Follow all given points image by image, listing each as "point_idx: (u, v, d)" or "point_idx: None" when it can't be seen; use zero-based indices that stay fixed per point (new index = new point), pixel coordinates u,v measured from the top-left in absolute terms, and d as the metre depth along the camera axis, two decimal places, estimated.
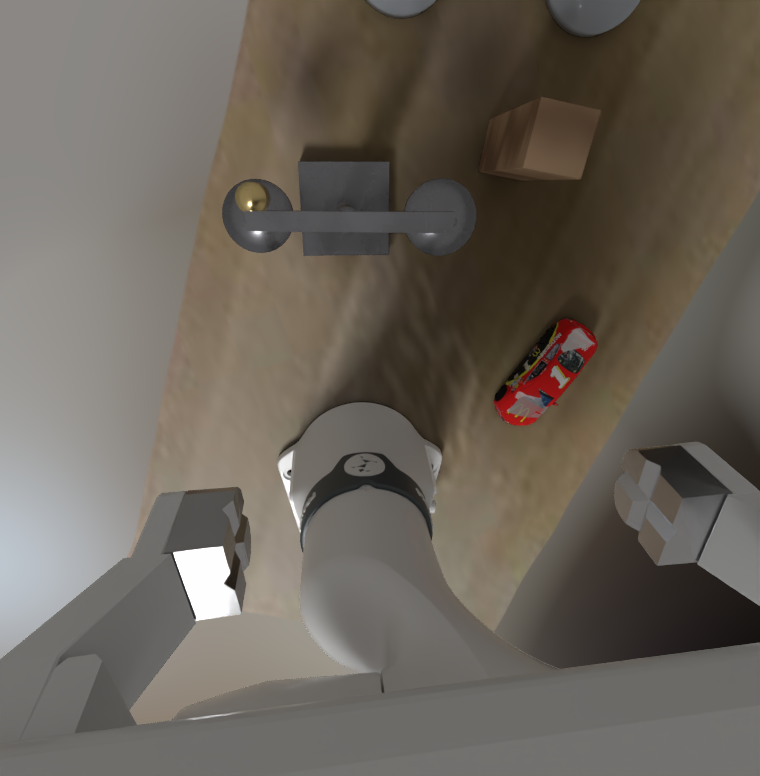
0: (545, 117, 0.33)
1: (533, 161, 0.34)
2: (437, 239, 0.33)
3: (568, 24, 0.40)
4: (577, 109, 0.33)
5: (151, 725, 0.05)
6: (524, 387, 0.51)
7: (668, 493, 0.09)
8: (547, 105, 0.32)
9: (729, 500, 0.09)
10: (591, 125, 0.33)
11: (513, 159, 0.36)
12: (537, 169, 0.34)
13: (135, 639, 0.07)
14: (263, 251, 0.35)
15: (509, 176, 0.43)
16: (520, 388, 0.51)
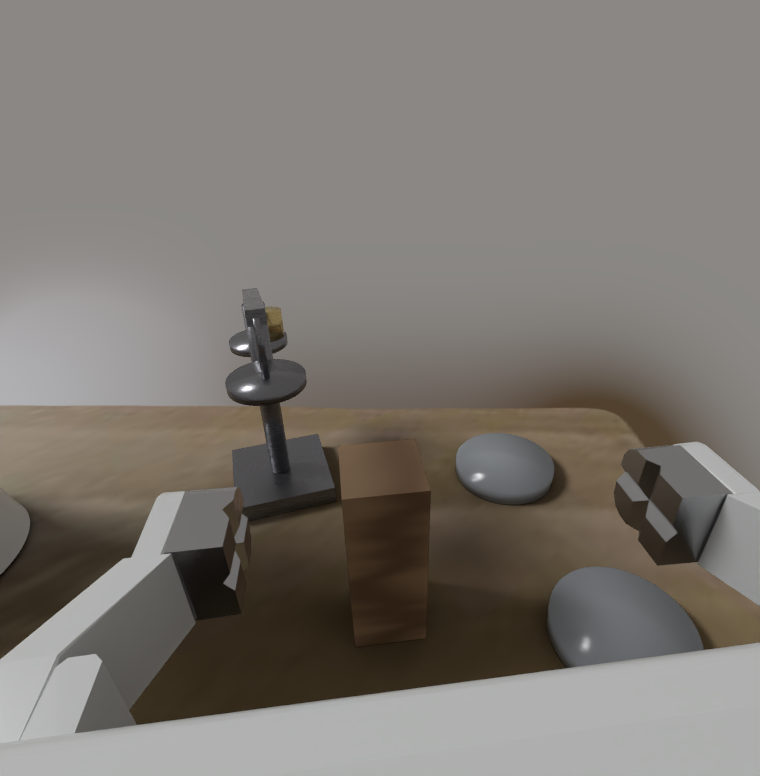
0: (397, 447, 0.27)
1: (347, 451, 0.27)
2: (243, 379, 0.30)
3: (549, 611, 0.30)
4: (419, 469, 0.25)
5: (151, 725, 0.05)
6: None
7: (668, 493, 0.09)
8: (409, 444, 0.27)
9: (729, 500, 0.09)
10: (409, 487, 0.24)
11: None
12: (340, 457, 0.26)
13: (135, 639, 0.07)
14: (230, 343, 0.42)
15: None
16: None
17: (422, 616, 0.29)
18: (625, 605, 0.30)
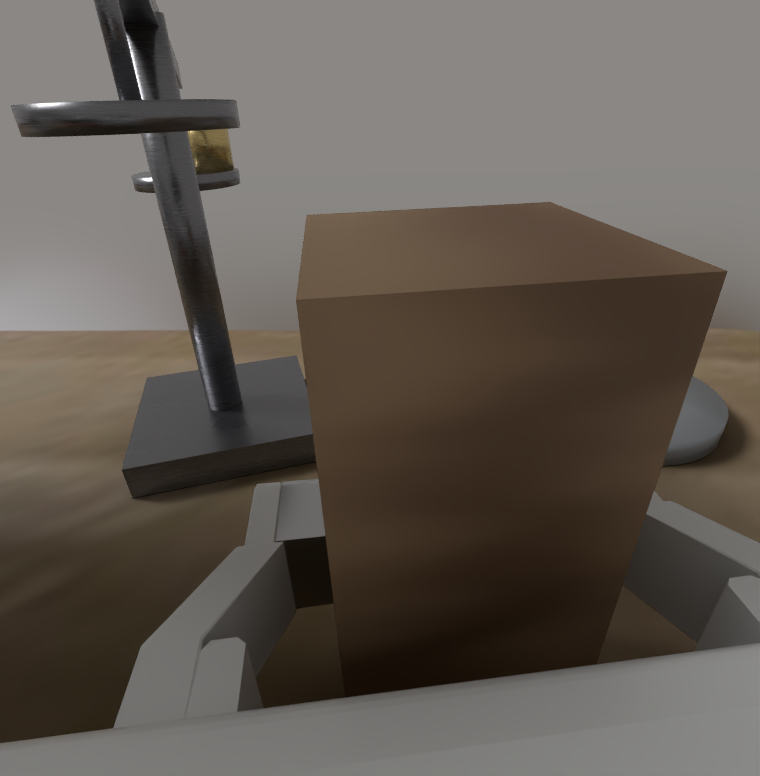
0: (501, 212, 0.08)
1: (336, 220, 0.08)
2: None
3: None
4: (615, 236, 0.06)
5: (151, 725, 0.05)
6: None
7: None
8: (538, 208, 0.08)
9: None
10: (614, 266, 0.05)
11: None
12: (309, 228, 0.07)
13: (254, 625, 0.08)
14: (133, 175, 0.23)
15: None
16: None
17: None
18: None
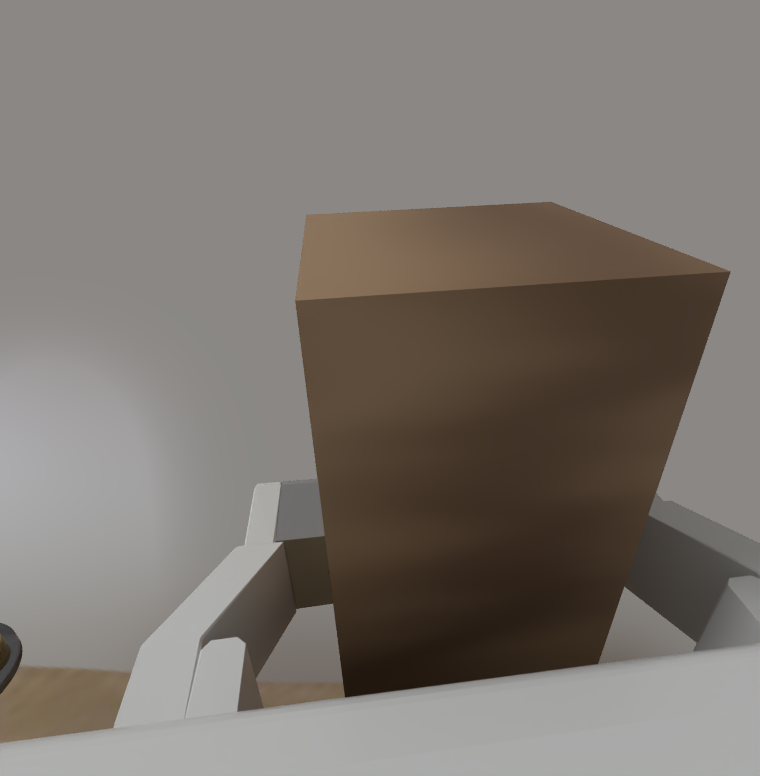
0: (501, 212, 0.08)
1: (336, 220, 0.08)
2: None
3: None
4: (616, 236, 0.06)
5: (151, 724, 0.05)
6: None
7: None
8: (540, 208, 0.08)
9: None
10: (616, 266, 0.05)
11: None
12: (309, 228, 0.07)
13: (254, 625, 0.08)
14: None
15: None
16: None
17: None
18: None
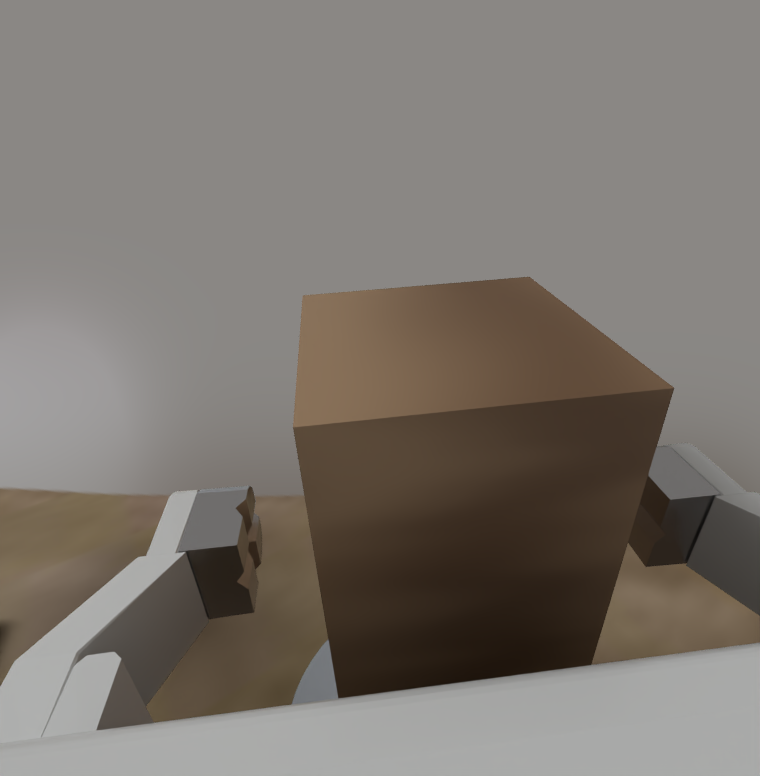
0: (482, 292, 0.09)
1: (330, 304, 0.09)
2: None
3: None
4: (582, 333, 0.07)
5: (151, 724, 0.05)
6: None
7: (656, 494, 0.09)
8: (518, 287, 0.09)
9: (717, 501, 0.09)
10: (576, 378, 0.06)
11: None
12: (305, 317, 0.08)
13: (151, 637, 0.07)
14: None
15: None
16: None
17: None
18: None
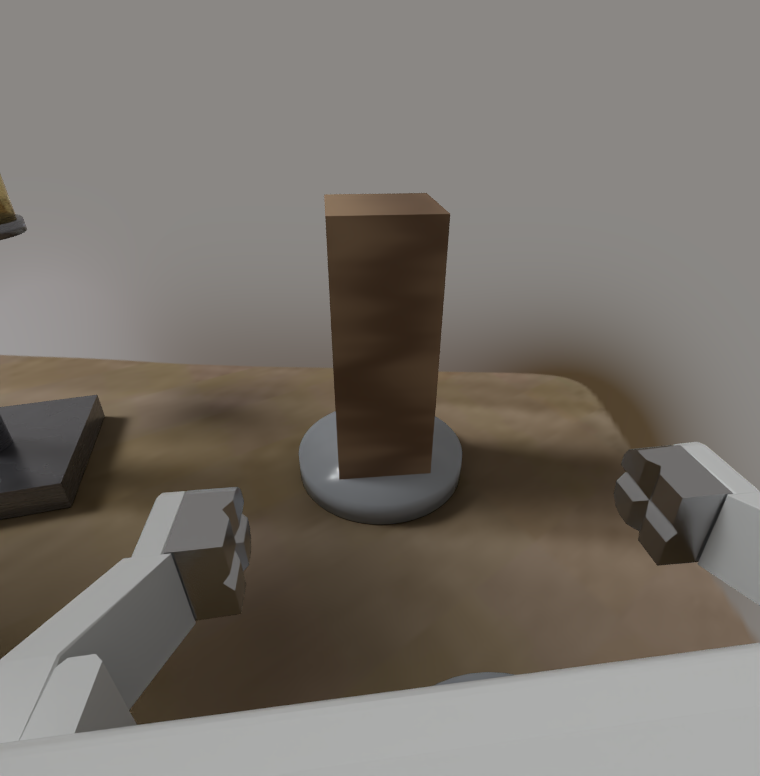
0: (402, 196, 0.20)
1: (336, 196, 0.20)
2: None
3: None
4: (433, 205, 0.18)
5: (151, 724, 0.05)
6: None
7: (668, 493, 0.09)
8: (418, 195, 0.20)
9: (729, 500, 0.09)
10: (420, 212, 0.17)
11: None
12: (326, 199, 0.19)
13: (135, 639, 0.07)
14: None
15: None
16: None
17: (428, 437, 0.22)
18: None
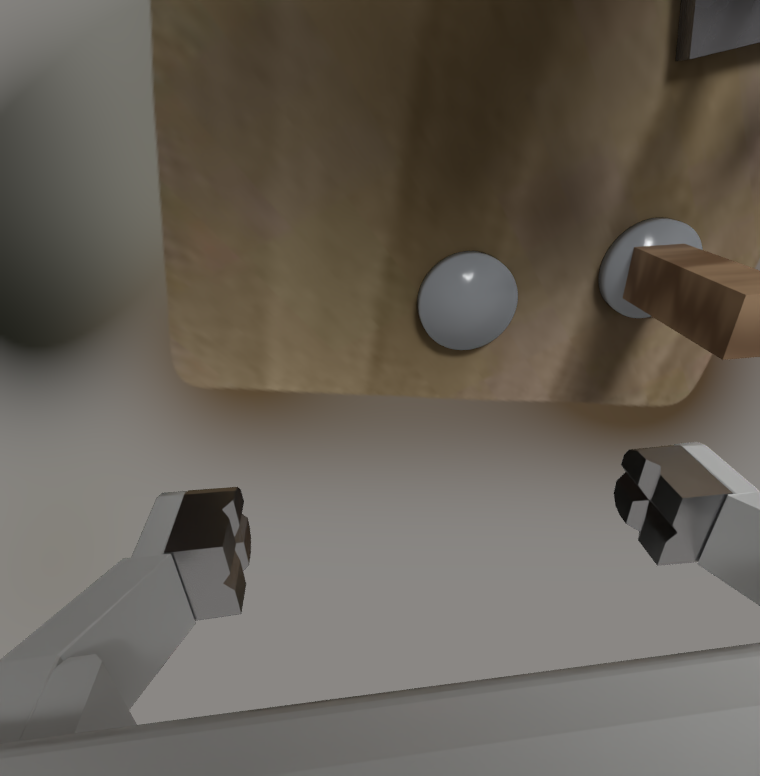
0: None
1: None
2: None
3: (489, 256, 0.39)
4: (748, 354, 0.31)
5: (151, 726, 0.05)
6: None
7: (668, 493, 0.09)
8: None
9: (729, 500, 0.09)
10: (733, 345, 0.31)
11: None
12: None
13: (135, 639, 0.07)
14: None
15: (672, 251, 0.38)
16: None
17: (637, 304, 0.40)
18: (481, 313, 0.41)
